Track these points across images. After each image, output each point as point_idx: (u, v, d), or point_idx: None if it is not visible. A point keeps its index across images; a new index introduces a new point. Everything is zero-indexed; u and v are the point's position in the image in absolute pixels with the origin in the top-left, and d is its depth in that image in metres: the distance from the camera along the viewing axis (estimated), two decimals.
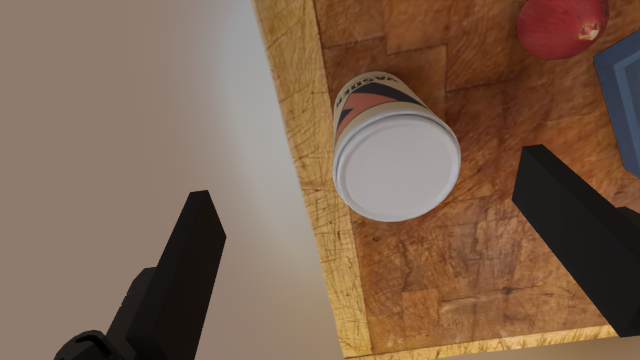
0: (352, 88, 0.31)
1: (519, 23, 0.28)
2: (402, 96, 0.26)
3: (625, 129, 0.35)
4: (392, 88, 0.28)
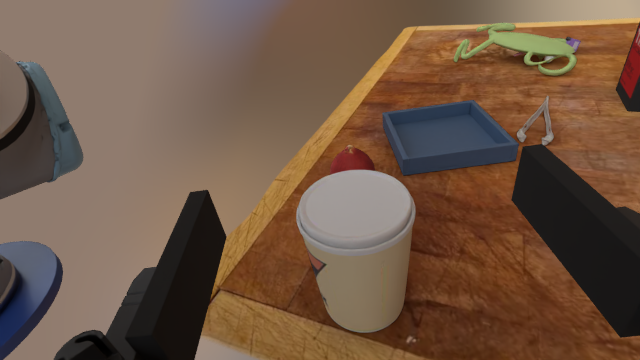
0: None
1: None
2: None
3: (462, 155, 0.48)
4: None
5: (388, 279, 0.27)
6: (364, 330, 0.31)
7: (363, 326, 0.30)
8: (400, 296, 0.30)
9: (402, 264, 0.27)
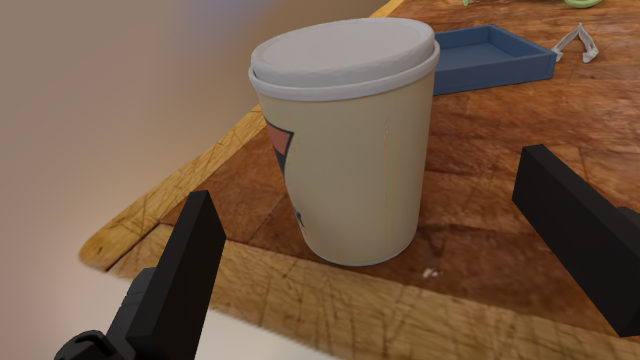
0: None
1: None
2: None
3: (485, 70, 0.38)
4: None
5: (395, 162, 0.17)
6: (359, 261, 0.20)
7: (357, 254, 0.20)
8: (413, 206, 0.20)
9: (418, 140, 0.17)
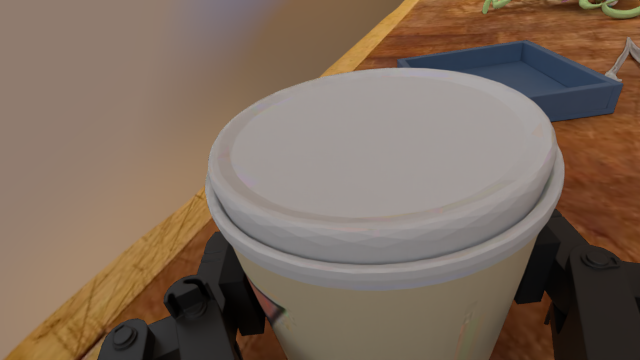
0: None
1: None
2: None
3: None
4: None
5: (471, 352, 0.09)
6: None
7: None
8: None
9: (509, 305, 0.09)
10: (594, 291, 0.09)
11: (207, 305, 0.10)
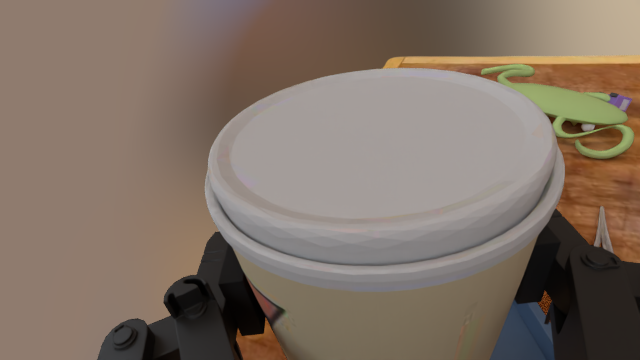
0: None
1: None
2: None
3: None
4: None
5: (472, 352, 0.09)
6: None
7: None
8: None
9: (510, 306, 0.09)
10: (594, 291, 0.09)
11: (207, 305, 0.10)
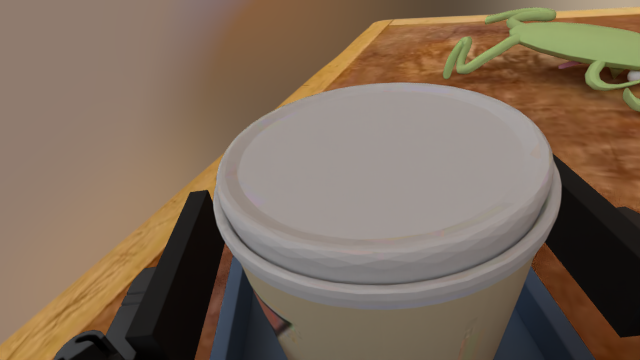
0: None
1: None
2: None
3: None
4: None
5: None
6: None
7: None
8: None
9: (508, 318, 0.10)
10: None
11: None
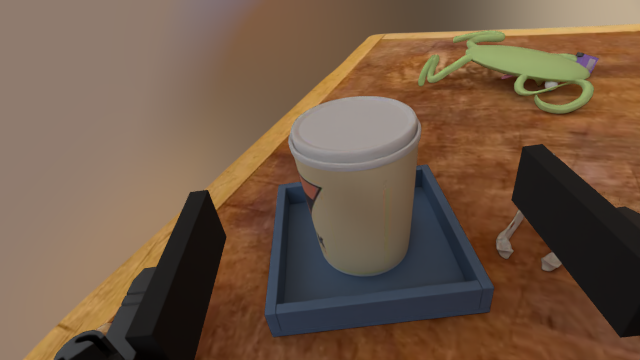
0: None
1: None
2: None
3: (383, 306, 0.24)
4: None
5: (390, 207, 0.24)
6: (365, 272, 0.28)
7: (364, 268, 0.28)
8: (404, 233, 0.27)
9: (406, 191, 0.25)
10: None
11: None
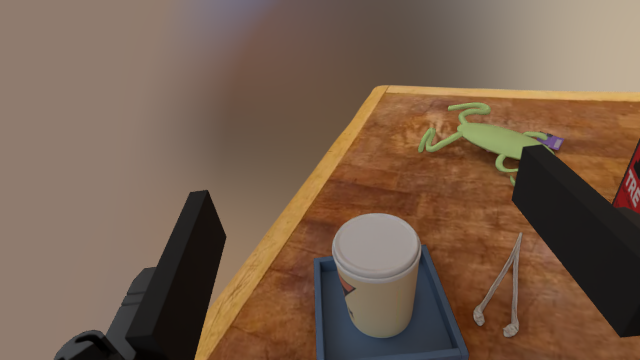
0: None
1: None
2: None
3: None
4: None
5: (401, 299, 0.36)
6: (382, 336, 0.40)
7: (381, 333, 0.40)
8: (409, 310, 0.40)
9: (411, 287, 0.37)
10: None
11: None
